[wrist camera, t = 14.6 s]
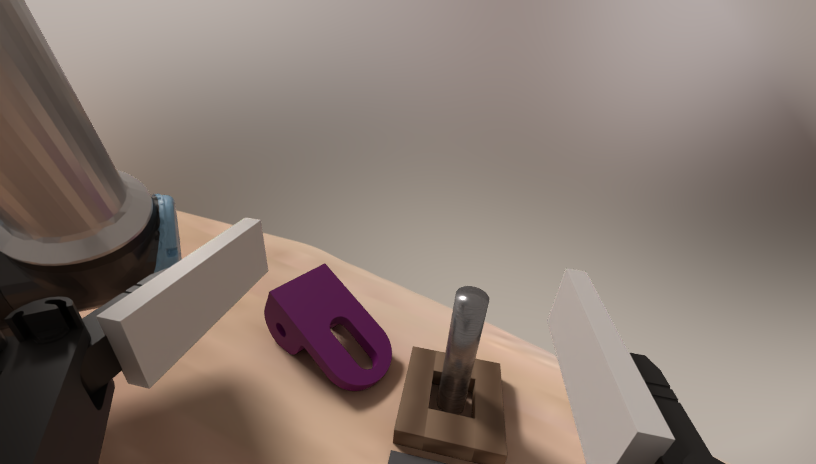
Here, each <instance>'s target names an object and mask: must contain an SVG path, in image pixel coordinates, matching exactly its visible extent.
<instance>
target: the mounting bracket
mask: <svg viewBox="0 0 816 464" xmlns="http://www.w3.org/2000/svg"><path fill="white" fill-rule="evenodd" d="M264 315H265V320H266V324H267V326H268V329H269V331H270V333H271V335H272V336H273V338H274V339H275V341H276V342H277V343H278V344H279V345H280V346H281V347H282V348H283V349H284V350H286V351H287V352H288V353H289V354H292V355H294V354H296V353H298V352H299V351H301V350H302V349H303V348H305V349H306V350H307V351H308V353H309V354H310V355H311V357H312V358H313V359H314V360H315V362H316V363H317V364H318V366H319V367H320V368H321V369H322V371H323V372H324V373H325V375H326V376H327V377H328V378H329V379H330V380H331V381H332V382H333V383H334V384H335V385H337V386H338V387H340V388H342V389H345V390H349V391H361V390H365V389H367V388H369V387H371V386H373V385H374V384H376V383H377V382H378V381H379V380H380V379H381V378H382V377H383V376H384V374H385V373H386V372H387V370H388V368H389V366H390V363H391V359H392V348H391V344H390V341H389V338H388V337H387V335H386V333H385V332H384V330H383V329H382V328H381V327H380V326H379V325H378V323H377V322H376V321H375V320H374V319H373V318H372V317H371V315H370V314H369V313H368V312H367V311H366V310H365V309H364V307H363V306H362V305H361V304H360V303H359V302H358V301H357V299H356V298H355V297H354V296H353V295H352V294H351V293H350V291H349V290H348V289H347V288H346V287H345V286H344V285H343V283H342V282H341V281H340V280H339V279H338V278H337V277H336V275H335V274H334V273H333V272H332V271H331V270H330V269H329V267H328V266H327V265H326V264H323V265H321V266H319V267H317V268H315V269H313V270H311V271H309V272H307V273H305V274H303V275H301V276H299V277H297V278H295V279H293V280H291V281H289V282H287V283H285V284H283V285H281V286H280V287H278V288H276V289H274V290H272V291H270V292H269V295H268V299H267V302H266V306H265V310H264ZM337 324H341V325H343V326H344V327H345V328H346V329H347V330H348V331H349V332H350V334H351V335H352V336H353V337H354V338H355V340H356V341H357V342H358V343H359V344H360V346H361V347H362V348H363V349H364V350H365V352H366V353H367V354H368V355H369V356H370V358H371V360H372V363H373V366H372V369H368V370H367V369H363V368H361V367H360V366H359V365H358V364H357V363H356V362H355V361H354V359H353V358H352V357H351V356H350V355H349V353H348V352H347V351H346V350H345V348H344V347H343V346H342V345H341V344H340V342H339V341H338V340H337V339H336V337H335V336H334V335H333V334H332V332H331V330H330V327H335V326H336V325H337Z"/></svg>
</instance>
